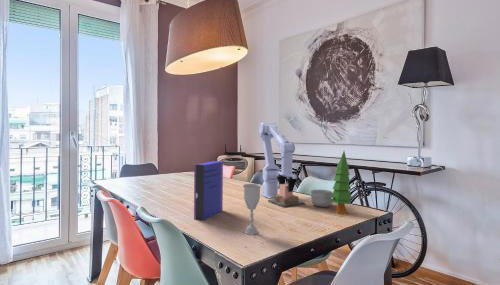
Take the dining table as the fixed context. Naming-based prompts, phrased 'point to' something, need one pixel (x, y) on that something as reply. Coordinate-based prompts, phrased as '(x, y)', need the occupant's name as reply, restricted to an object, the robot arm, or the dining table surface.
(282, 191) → the coral block
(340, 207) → the decorative tree
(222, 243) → the dining table surface
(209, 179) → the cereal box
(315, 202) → the teacup
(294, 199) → the base
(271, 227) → the dining table surface
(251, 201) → the chalice
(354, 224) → the dining table surface
